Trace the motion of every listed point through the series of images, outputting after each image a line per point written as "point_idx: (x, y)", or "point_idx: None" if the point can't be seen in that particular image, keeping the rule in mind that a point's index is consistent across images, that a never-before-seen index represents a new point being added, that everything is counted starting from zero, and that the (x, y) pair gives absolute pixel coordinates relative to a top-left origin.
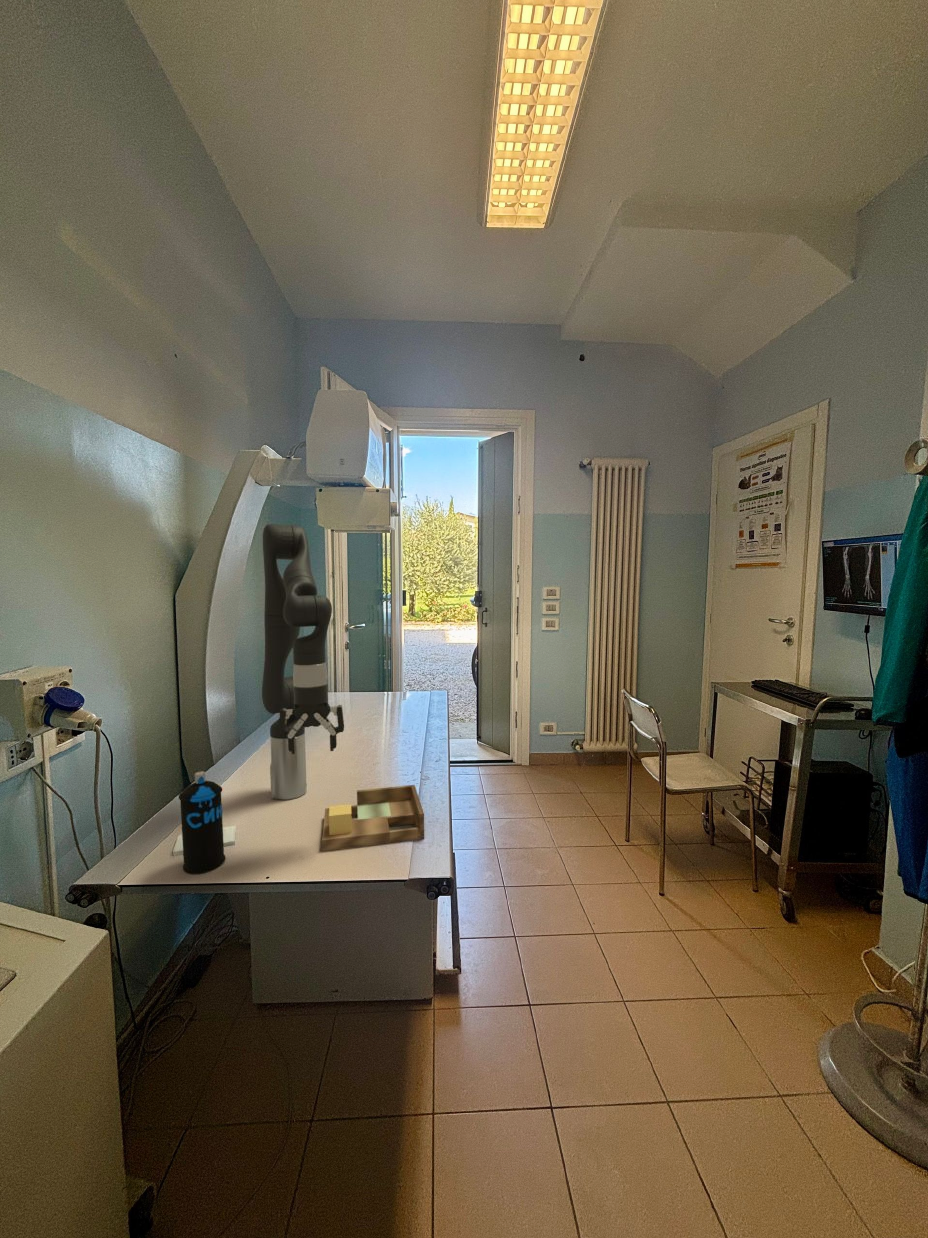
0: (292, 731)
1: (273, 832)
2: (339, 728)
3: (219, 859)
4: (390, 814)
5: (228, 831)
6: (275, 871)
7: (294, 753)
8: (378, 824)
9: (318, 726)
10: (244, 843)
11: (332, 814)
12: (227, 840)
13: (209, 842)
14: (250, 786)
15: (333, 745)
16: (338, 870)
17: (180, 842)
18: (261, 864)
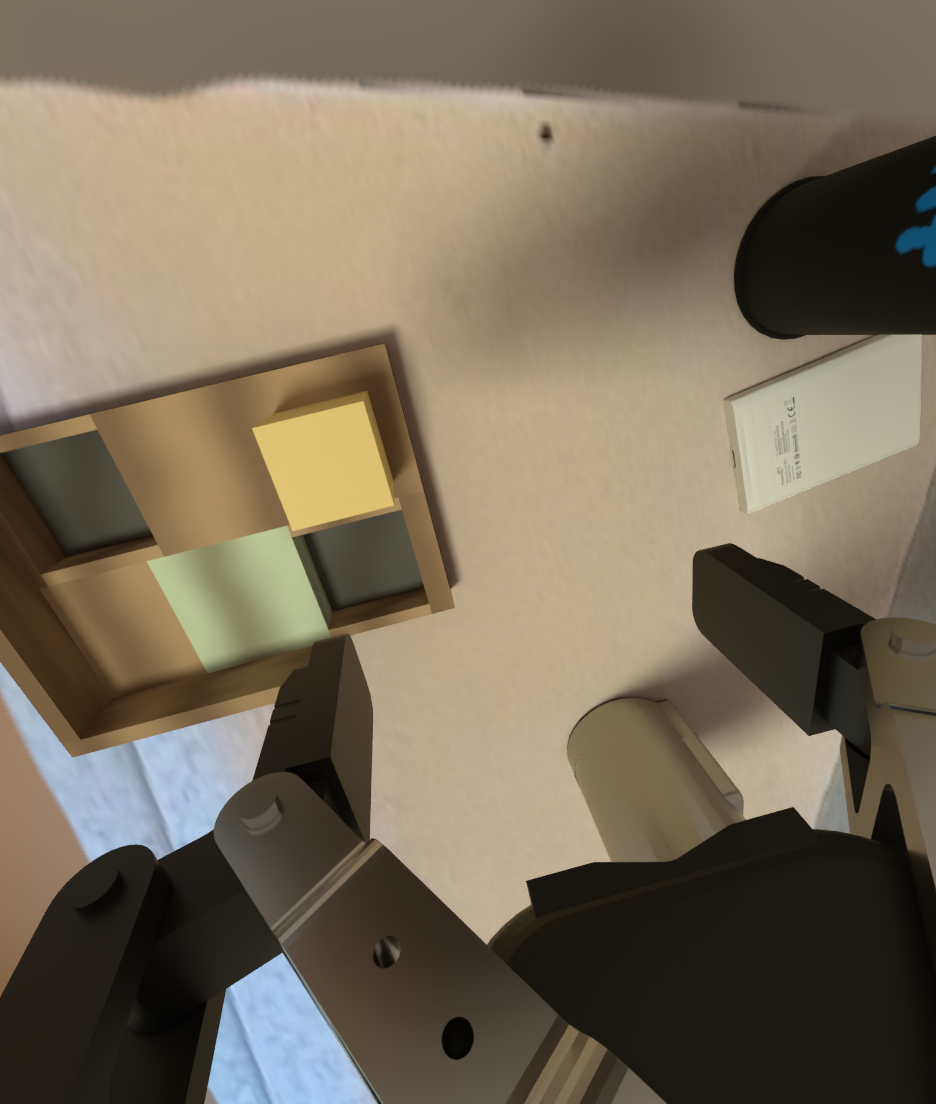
0: None
1: (609, 486)
2: (115, 913)
3: (761, 237)
4: (154, 573)
5: (765, 467)
6: (528, 184)
7: (701, 552)
8: (175, 486)
9: (533, 881)
10: (692, 408)
11: (350, 419)
12: (757, 401)
13: (863, 174)
14: (749, 767)
15: (309, 686)
16: (262, 174)
17: (907, 386)
18: (596, 246)
